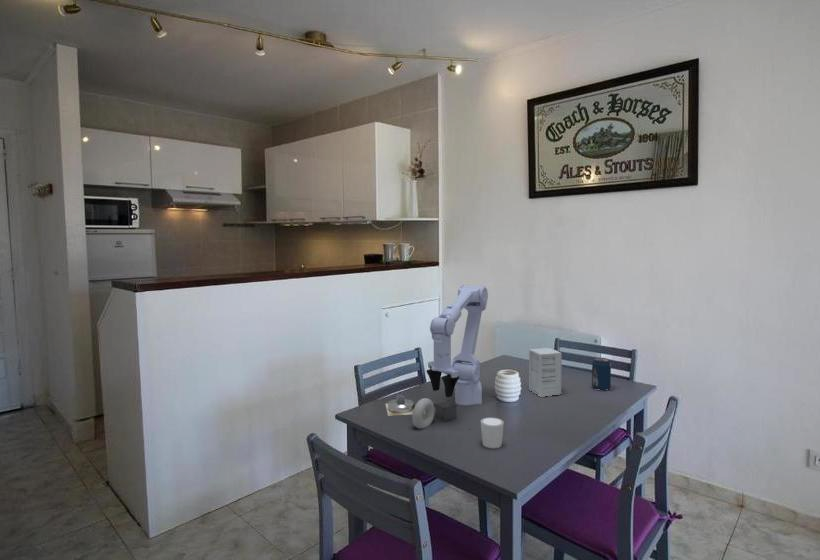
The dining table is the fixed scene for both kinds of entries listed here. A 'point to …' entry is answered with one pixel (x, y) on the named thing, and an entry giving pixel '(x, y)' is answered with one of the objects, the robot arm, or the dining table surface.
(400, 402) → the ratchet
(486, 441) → the shot glass
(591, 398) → the dining table surface
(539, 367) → the supplement box
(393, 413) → the board
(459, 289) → the robot arm
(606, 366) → the soda can
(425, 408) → the donut
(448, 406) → the charcoal matte cube
